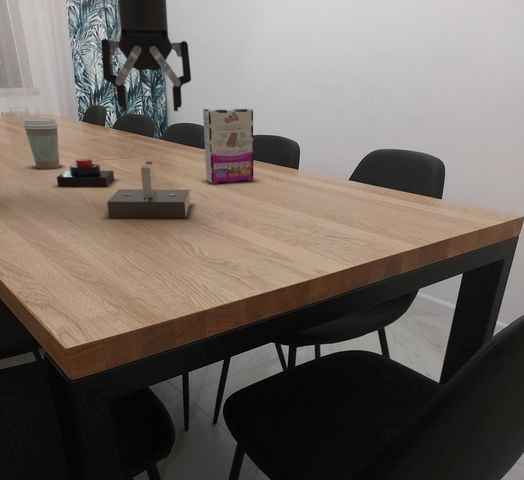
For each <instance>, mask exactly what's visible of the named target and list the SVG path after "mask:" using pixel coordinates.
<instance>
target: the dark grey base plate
mask: <svg viewBox="0 0 524 480" xmlns="http://www.w3.org/2000/svg"><path fill="white" fill-rule="evenodd" d="M190 199H191V198H190V189H157V188H156V193H155V195H154V196H153V198H144V196H143V188H141V189H139V188H135V189H134V188H133V189H131V188H130V189H129V188H119V189H118V190H117V191H116V192H114V193H113V195H112V196H111V197H110V198H109V199H108V200H107V202H106V204H107V212H108V218H109V219H187V215H188V212H189V209H190V206H191V200H190Z"/></svg>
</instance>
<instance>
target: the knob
mask: <svg viewBox="0 0 524 480" xmlns="http://www.w3.org/2000/svg"><path fill="white" fill-rule="evenodd" d="M155 169H156V167H155V162H154V160H146V161H145V162H144V164H143V165H142V166H140V174H141V184H142V189H143V196H144V198H153V196H154V195H155V193H156V189H157V181H156V170H155Z"/></svg>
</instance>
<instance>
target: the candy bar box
mask: <svg viewBox="0 0 524 480" xmlns="http://www.w3.org/2000/svg"><path fill="white" fill-rule="evenodd" d="M202 117H203V131H204V132H203V135H204V155H205V173H206V175H205V176H206V177H205V178H206V182H208V183H210V184H213V185H218V184H219V185H220V184H231V183H243V182H245V183H246V182H254V108H248V107H229V108H228V107H227V108H206V109H205V108H204V109H202Z"/></svg>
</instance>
